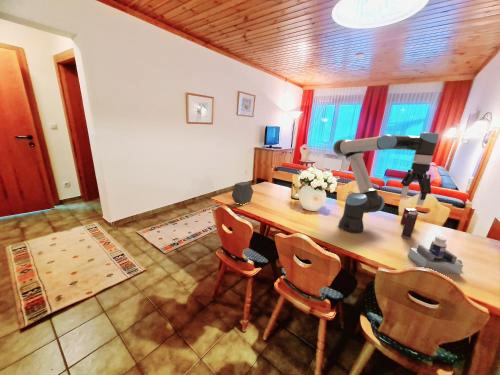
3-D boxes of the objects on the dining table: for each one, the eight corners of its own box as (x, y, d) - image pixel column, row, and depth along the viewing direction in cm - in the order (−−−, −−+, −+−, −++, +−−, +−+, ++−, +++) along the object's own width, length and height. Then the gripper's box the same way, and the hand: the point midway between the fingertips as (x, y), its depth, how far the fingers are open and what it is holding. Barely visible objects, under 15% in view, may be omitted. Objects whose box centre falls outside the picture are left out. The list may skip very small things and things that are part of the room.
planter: (248, 193, 184) (240, 176, 170) (255, 195, 180) (248, 178, 166) (237, 207, 176) (229, 191, 162) (244, 210, 171) (236, 193, 158)
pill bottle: (425, 252, 104) (430, 235, 101) (434, 252, 104) (440, 235, 102) (435, 258, 99) (441, 240, 96) (445, 258, 99) (451, 240, 96)
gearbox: (423, 270, 98) (428, 256, 96) (407, 255, 109) (411, 242, 107) (468, 275, 96) (474, 260, 94) (447, 259, 108) (452, 246, 106)
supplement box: (410, 239, 127) (417, 215, 123) (400, 236, 130) (407, 213, 126) (411, 234, 133) (418, 212, 129) (402, 232, 136) (409, 209, 132)
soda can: (414, 227, 144) (419, 211, 141) (403, 226, 145) (407, 210, 142) (409, 223, 151) (413, 208, 147) (398, 221, 152) (402, 206, 149)
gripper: (448, 167, 96) (435, 209, 102) (413, 160, 120) (404, 194, 126) (431, 166, 97) (419, 208, 103) (399, 159, 121) (391, 193, 126)
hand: (410, 200), depth 114 cm, fingers open, 13 cm apart
